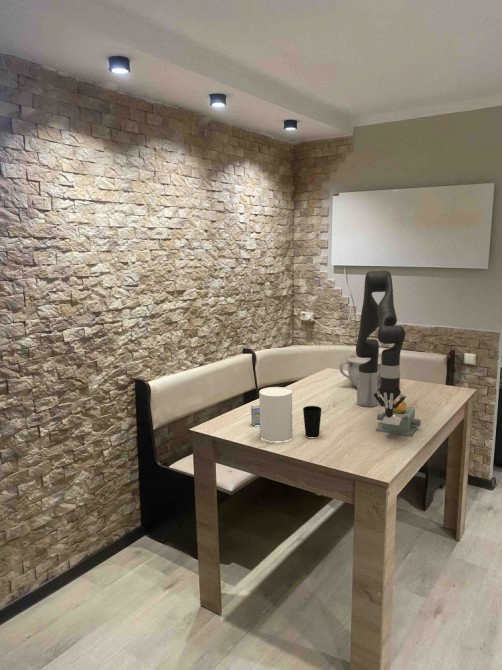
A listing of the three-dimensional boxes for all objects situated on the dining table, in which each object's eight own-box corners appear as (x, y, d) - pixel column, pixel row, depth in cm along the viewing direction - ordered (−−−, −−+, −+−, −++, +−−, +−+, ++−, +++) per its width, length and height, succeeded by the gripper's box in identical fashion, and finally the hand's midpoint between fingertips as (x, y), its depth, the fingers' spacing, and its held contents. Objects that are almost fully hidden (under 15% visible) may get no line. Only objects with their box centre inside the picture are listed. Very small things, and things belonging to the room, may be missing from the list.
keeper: (386, 416, 212) (381, 423, 206) (386, 413, 212) (381, 420, 205) (403, 418, 209) (399, 425, 202) (403, 415, 208) (399, 423, 202)
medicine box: (253, 427, 222) (253, 408, 220) (251, 424, 226) (250, 405, 224) (270, 425, 224) (270, 406, 222) (267, 422, 228) (267, 403, 227)
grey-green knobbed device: (372, 430, 214) (372, 412, 213) (382, 417, 230) (383, 401, 229) (415, 437, 206) (416, 418, 205) (423, 423, 221) (424, 406, 220)
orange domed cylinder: (389, 425, 217) (390, 403, 215) (392, 421, 222) (393, 400, 220) (404, 428, 214) (404, 405, 212) (407, 423, 219) (407, 401, 217)
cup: (309, 431, 215) (309, 404, 213) (324, 435, 210) (324, 407, 208) (299, 436, 209) (299, 409, 207) (315, 440, 204) (315, 412, 202)
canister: (286, 445, 200) (286, 397, 197) (255, 441, 205) (254, 394, 202) (296, 433, 213) (296, 388, 209) (266, 430, 218) (265, 385, 214)
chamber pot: (400, 384, 286) (401, 348, 283) (387, 396, 263) (388, 358, 260) (353, 378, 301) (353, 345, 297) (337, 389, 277) (337, 353, 274)
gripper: (371, 375, 198) (370, 417, 201) (405, 379, 191) (403, 422, 194) (376, 371, 204) (375, 412, 207) (409, 374, 198) (407, 416, 201)
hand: (389, 417), depth 201 cm, fingers closed
